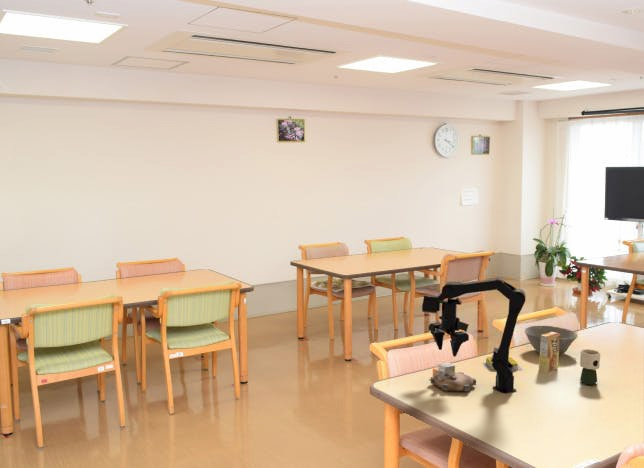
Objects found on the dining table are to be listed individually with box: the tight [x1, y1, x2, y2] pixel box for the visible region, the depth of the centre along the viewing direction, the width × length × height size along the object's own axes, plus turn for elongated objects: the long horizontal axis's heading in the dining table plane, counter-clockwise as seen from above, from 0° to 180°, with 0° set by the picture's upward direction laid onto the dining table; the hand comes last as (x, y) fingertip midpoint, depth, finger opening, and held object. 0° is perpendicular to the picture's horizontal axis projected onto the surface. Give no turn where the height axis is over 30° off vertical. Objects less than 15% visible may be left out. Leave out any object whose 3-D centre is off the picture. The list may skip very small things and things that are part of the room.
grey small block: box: [437, 362, 456, 377], centre depth 240 cm, size 4×5×4 cm
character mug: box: [579, 348, 601, 386], centre depth 241 cm, size 11×7×13 cm, turn 135°
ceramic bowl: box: [524, 325, 578, 355], centre depth 281 cm, size 22×23×10 cm
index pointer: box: [432, 367, 438, 377], centre depth 246 cm, size 2×2×4 cm
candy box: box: [538, 332, 560, 373], centre depth 257 cm, size 9×4×15 cm, turn 129°
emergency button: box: [482, 356, 524, 371], centre depth 261 cm, size 9×4×15 cm
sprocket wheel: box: [430, 370, 477, 392], centre depth 236 cm, size 17×16×6 cm
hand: (447, 353), depth 240 cm, fingers open, 9 cm apart
